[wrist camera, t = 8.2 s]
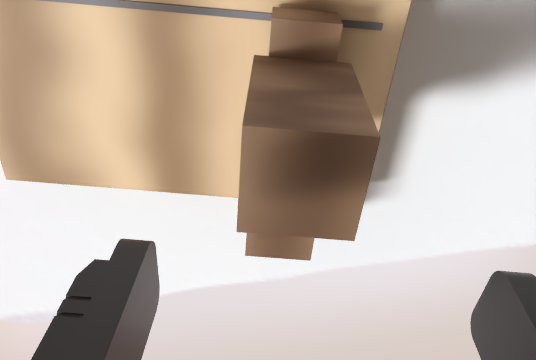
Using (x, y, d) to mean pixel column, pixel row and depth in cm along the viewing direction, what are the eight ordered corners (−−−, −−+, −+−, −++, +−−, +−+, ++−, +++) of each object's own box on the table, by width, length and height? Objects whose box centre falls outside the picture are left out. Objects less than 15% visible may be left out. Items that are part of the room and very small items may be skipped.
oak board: (414, -80, 19) (430, -76, 17) (354, 182, 27) (360, 208, 25) (-47, -123, 19) (-90, -125, 17) (27, 156, 27) (5, 180, 24)
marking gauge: (344, 1, 21) (392, 88, 12) (309, 211, 28) (322, 366, 19) (261, -7, 21) (244, 75, 12) (247, 206, 28) (230, 359, 19)
